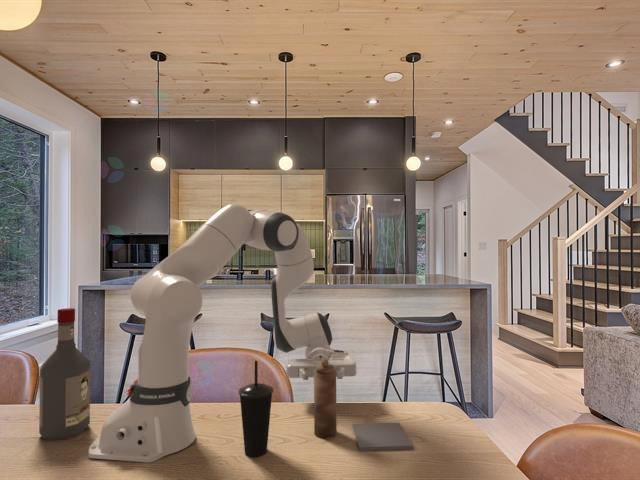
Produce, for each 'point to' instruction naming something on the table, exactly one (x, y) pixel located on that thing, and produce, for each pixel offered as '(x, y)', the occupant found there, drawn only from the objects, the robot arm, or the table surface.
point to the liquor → (64, 385)
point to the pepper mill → (325, 400)
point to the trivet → (381, 436)
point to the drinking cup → (255, 416)
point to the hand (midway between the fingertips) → (322, 376)
